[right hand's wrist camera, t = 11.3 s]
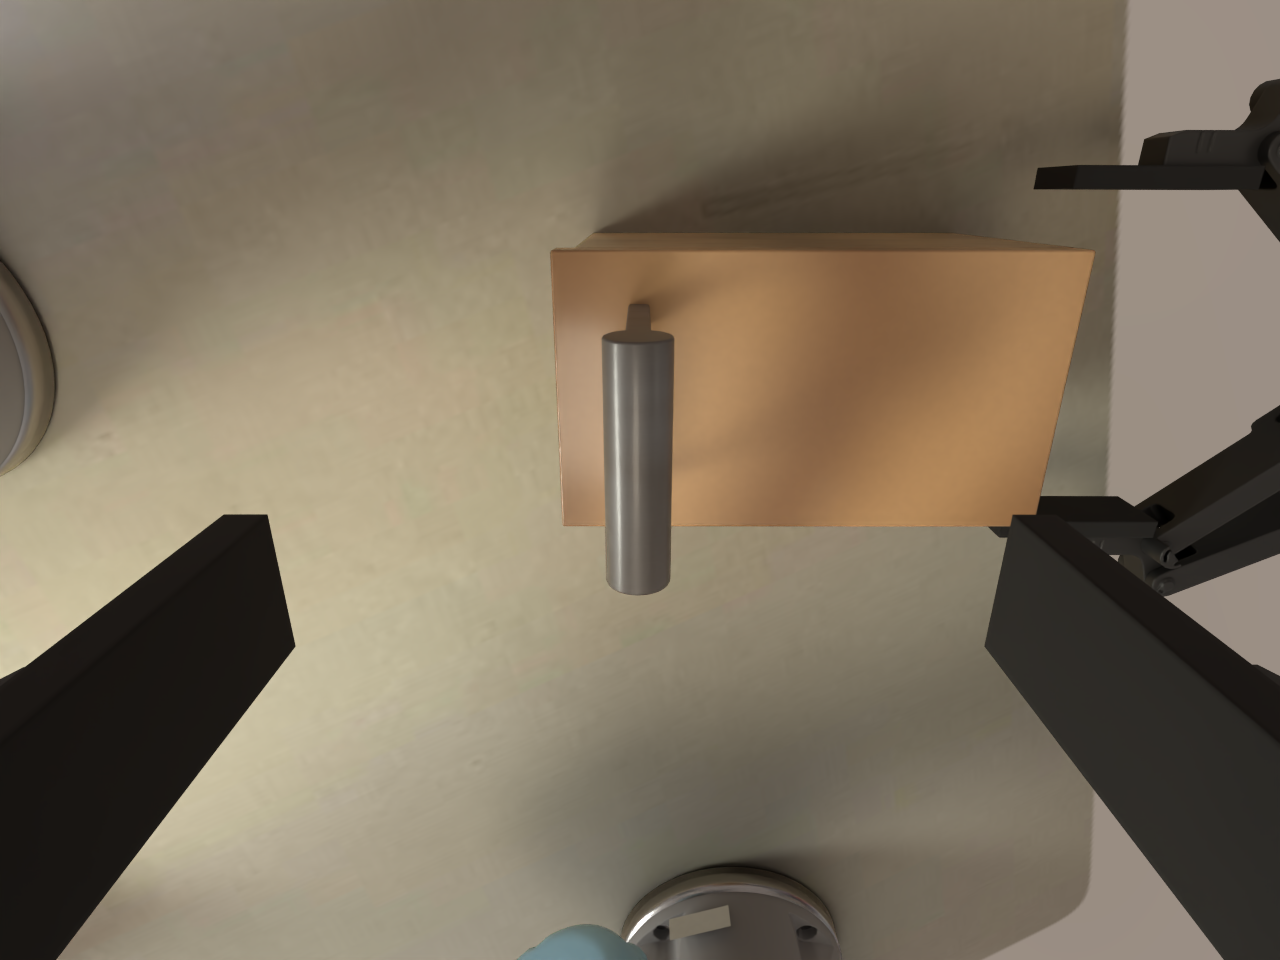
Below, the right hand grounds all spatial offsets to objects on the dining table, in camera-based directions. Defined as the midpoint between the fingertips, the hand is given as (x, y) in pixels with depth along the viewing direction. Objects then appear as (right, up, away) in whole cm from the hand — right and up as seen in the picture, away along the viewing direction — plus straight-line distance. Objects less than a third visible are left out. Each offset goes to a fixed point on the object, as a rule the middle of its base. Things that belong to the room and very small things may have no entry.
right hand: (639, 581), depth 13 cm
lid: (+6, +5, +13) cm, 15 cm away
